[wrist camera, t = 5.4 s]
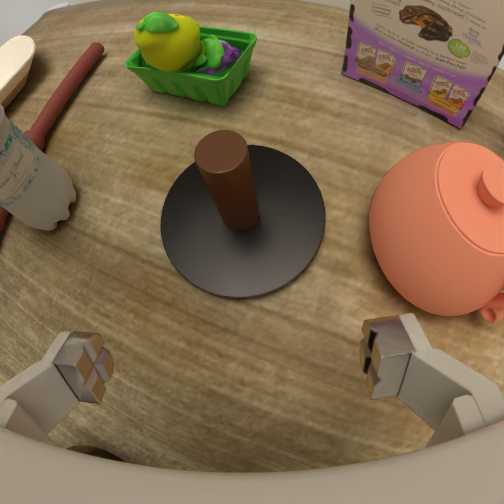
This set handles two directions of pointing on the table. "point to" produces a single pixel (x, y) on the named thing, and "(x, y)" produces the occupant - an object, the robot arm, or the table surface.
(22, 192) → the bottle
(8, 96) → the bowl
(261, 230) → the lid
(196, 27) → the fruit basket
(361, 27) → the candy box
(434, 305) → the sugar bowl
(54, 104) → the red brown collared rod
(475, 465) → the robot arm
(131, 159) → the table surface
